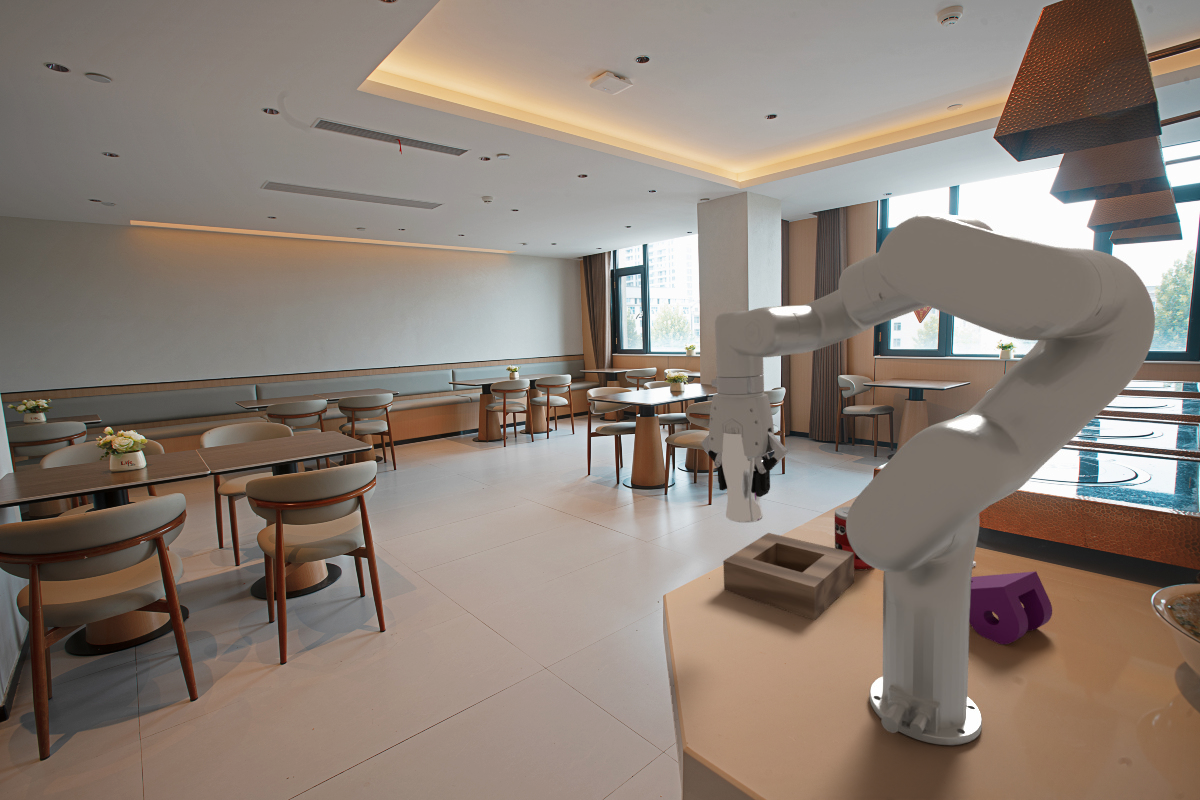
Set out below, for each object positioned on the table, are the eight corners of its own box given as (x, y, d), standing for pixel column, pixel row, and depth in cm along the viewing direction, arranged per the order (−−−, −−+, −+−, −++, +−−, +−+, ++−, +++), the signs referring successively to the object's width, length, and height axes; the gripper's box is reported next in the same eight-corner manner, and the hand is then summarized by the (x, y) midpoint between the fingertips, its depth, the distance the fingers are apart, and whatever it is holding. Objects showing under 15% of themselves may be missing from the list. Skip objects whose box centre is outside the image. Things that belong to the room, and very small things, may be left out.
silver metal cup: (715, 519, 94) (711, 432, 92) (735, 507, 99) (732, 425, 97) (753, 526, 89) (750, 435, 87) (772, 514, 94) (769, 428, 92)
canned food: (839, 552, 122) (839, 504, 120) (879, 559, 117) (879, 509, 116) (830, 565, 115) (830, 515, 114) (872, 573, 111) (872, 521, 109)
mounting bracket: (922, 642, 97) (1028, 644, 82) (902, 593, 99) (1002, 586, 84) (954, 626, 101) (1061, 626, 86) (935, 579, 103) (1036, 571, 88)
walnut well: (814, 619, 95) (814, 587, 94) (724, 589, 108) (723, 560, 107) (853, 581, 108) (853, 552, 107) (768, 559, 120) (768, 532, 120)
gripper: (684, 387, 94) (688, 489, 97) (779, 390, 83) (782, 506, 85) (708, 382, 100) (711, 479, 102) (800, 385, 88) (802, 494, 90)
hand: (743, 490), depth 93 cm, fingers closed on silver metal cup, 6 cm apart
